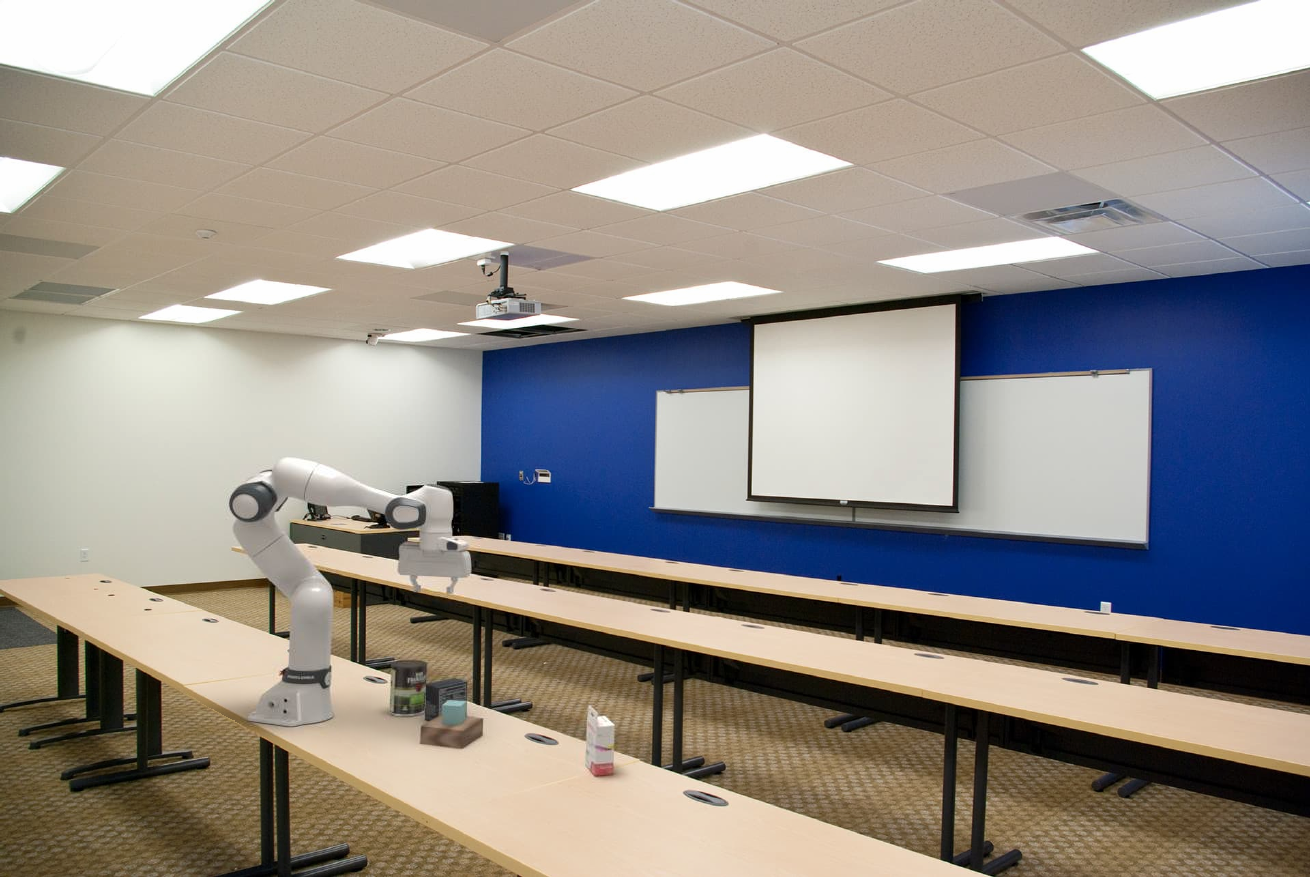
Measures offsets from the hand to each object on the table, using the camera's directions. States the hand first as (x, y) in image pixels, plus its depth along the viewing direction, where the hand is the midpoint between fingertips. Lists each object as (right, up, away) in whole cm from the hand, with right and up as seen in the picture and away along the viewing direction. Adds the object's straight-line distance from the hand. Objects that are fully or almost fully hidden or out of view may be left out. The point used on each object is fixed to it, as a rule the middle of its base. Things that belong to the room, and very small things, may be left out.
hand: (433, 592), depth 237 cm
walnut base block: (+8, -37, -11) cm, 40 cm away
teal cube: (+8, -32, -11) cm, 35 cm away
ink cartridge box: (+48, -38, -30) cm, 68 cm away
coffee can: (-11, -38, +13) cm, 41 cm away
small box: (+2, -38, +7) cm, 38 cm away
